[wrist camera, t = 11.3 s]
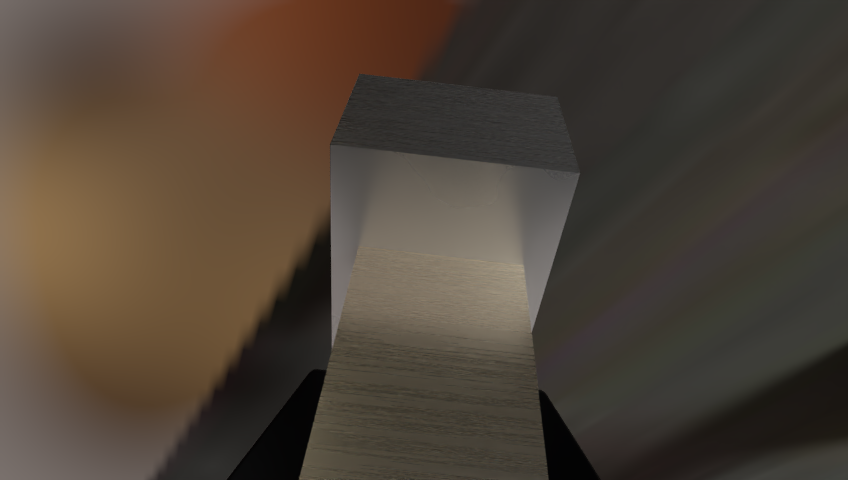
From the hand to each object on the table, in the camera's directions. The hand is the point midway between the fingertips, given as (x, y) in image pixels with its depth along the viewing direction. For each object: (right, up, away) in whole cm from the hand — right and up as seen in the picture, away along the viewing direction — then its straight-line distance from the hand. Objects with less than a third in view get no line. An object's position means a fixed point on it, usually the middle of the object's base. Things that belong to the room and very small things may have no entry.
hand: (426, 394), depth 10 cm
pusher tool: (0, +3, +4) cm, 5 cm away
